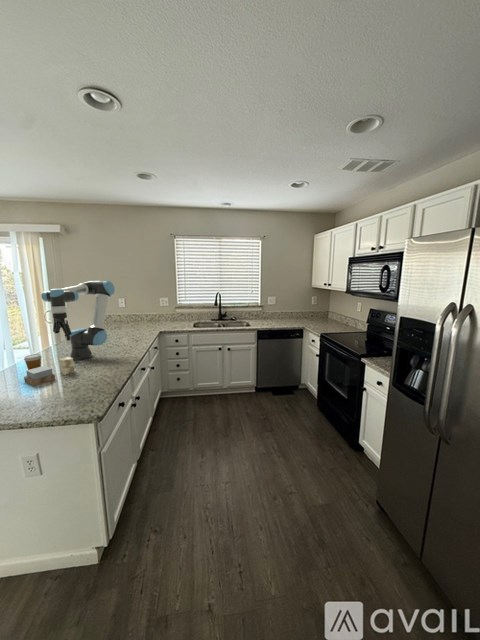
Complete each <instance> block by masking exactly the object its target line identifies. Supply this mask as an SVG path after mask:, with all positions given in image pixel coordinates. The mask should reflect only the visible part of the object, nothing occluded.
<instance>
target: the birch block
mask: <svg viewBox="0 0 480 640" xmlns="http://www.w3.org/2000/svg"><path fill="white" fill-rule="evenodd" d="M58 363H59V370H60V374H62V375H64V376H66V374H67V375H70V374H73V373H75V366H74V365H75V364H74V360H73V358H71V357H70V356H66V357H63V358H62V357H61V358H58ZM69 373H70V374H69Z"/></svg>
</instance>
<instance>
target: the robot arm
mask: <svg viewBox="0 0 480 640" xmlns="http://www.w3.org/2000/svg"><path fill="white" fill-rule="evenodd" d="M115 292H116V291H115V286H114V284H113V282H111V281H110V280H89V281H85V282H82V283H78V285H73V286H68V287H64V288H52V289H50V290H44V291H42V292H41V300H42V301H43V302H46V303H47V302H48V303H50V304H51V308H50V309H51V311H52V317H53V328H52V331H53V332H54V336H55V342H56V343H57V344H58V343H61V342H62V338H61V331H60V330H61V329H62V331H63V333H64V339H65V340H64V341H65V346H67V347H68V346H71V352H70V355H69V357H71V358H73V361H83V360H86V359H90V358H92V357H93V353H92V351H91V349H90V347H89V346H95V347H96V346H103V344H105V343H106V341H107V339H108V333H107V332H106V330H105V328H104V326H105V325H104V323H105V318H106V313H107V307H108V300H109V299H111V296H112V295H114V293H115ZM81 295H82V296H86V295H93V296H94V297H95V302H94V308H93V313H92V319H91V325H90V326H89V327H88V329H87V328H86V327H82V328H77V329H73V330H71V328H70V325H69V321H68V320H67V318H68V315H67V305H66V303H71V302H77V301H78V300H79V297H80V296H81ZM65 319H66V320H65Z"/></svg>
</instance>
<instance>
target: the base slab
mask: <svg viewBox="0 0 480 640" xmlns="http://www.w3.org/2000/svg"><path fill="white" fill-rule="evenodd" d="M23 379H24V382H25V383H26V384H28V385H30V386H31V387H35V386H39V385H42V384H45V382H46V383H48V382H51V381H55V380H56V376H55V374H54V373H53V375H49V376H46V377H43V378H39V379H36V380H33V379H31V378H29V377H27V375H26V376H24V377H23Z"/></svg>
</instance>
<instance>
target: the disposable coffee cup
mask: <svg viewBox="0 0 480 640" xmlns="http://www.w3.org/2000/svg"><path fill="white" fill-rule="evenodd" d="M23 358H24V359H23V360H24V362H25V364H26V368H27V370H30V369H34V368H38V367H41V366H42V355H41V354H40V353H34V354H29V355H26V356H24V357H23Z"/></svg>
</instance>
